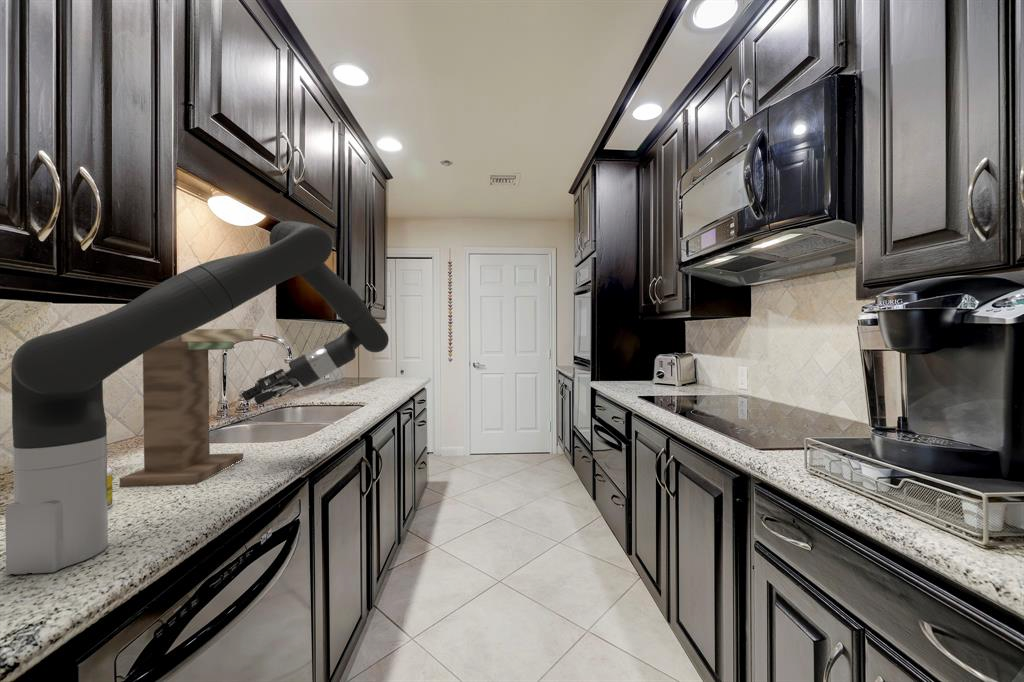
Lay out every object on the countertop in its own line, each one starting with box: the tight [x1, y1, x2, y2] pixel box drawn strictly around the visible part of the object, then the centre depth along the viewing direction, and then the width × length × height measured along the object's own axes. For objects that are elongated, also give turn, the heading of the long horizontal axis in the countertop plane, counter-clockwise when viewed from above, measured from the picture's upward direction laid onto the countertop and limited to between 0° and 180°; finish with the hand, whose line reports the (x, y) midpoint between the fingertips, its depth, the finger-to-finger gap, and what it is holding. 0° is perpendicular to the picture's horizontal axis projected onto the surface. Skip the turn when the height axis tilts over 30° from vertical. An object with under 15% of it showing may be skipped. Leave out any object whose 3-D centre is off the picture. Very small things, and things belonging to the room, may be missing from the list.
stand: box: [119, 341, 244, 488], centre depth 99 cm, size 18×16×32 cm
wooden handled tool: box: [166, 328, 254, 342], centre depth 99 cm, size 20×5×4 cm, turn 95°
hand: (250, 399), depth 99 cm, fingers open, 8 cm apart
